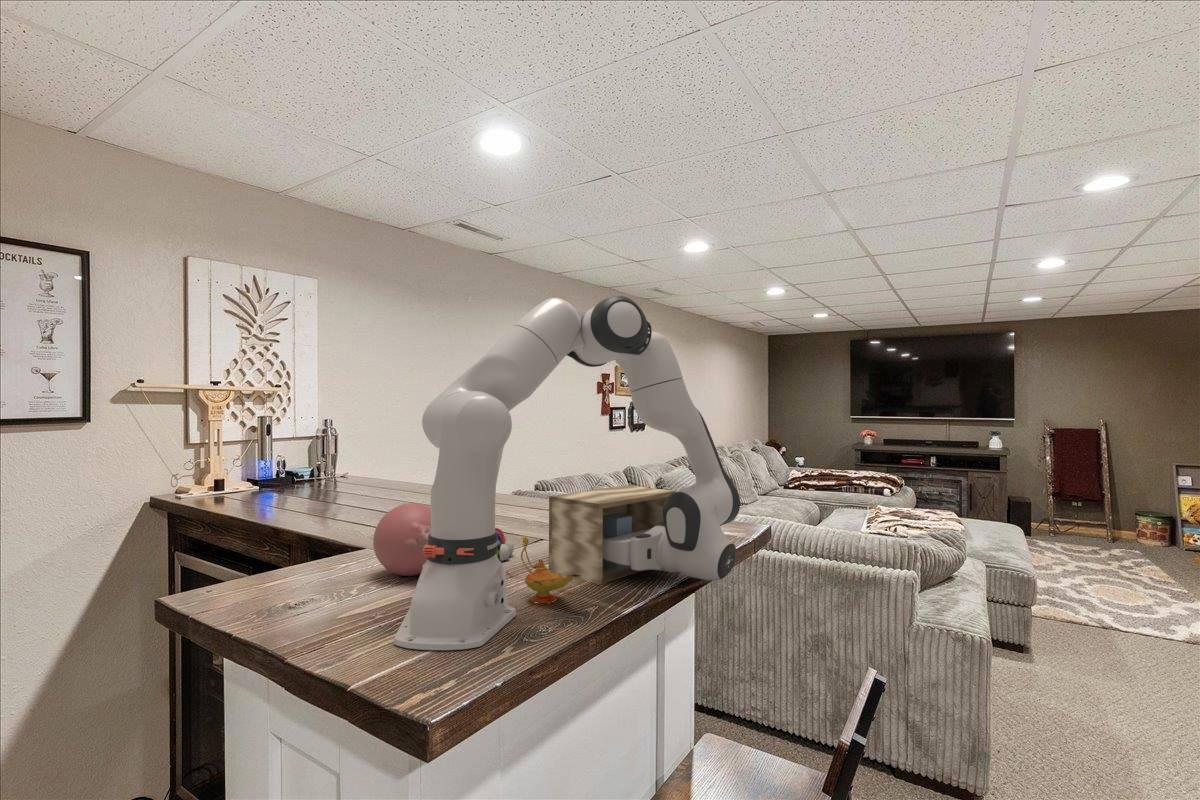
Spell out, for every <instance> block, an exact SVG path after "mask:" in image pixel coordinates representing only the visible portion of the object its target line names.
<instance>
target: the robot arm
mask: <svg viewBox="0 0 1200 800" xmlns="http://www.w3.org/2000/svg"><path fill="white" fill-rule="evenodd" d="M566 356H567V357H569V358H571V359H573V361H575V362H576V363H578V364H580V365H582V366H585V367H588V368H595V367H596V368H597V367H601V366H604V365H606V364H608V363H611V362H612V361H614V362H615V363H616V364H617V365H618V366H619V367H620V368H621V369H622V371H623V374H624V376H625V377H626V381H627V385H628V389H629V393H630V398H631V401H632V405H633V407H634V411H635V412H636V414H637V416H638V419H639V421H641V422H642V423H643V424H645V425H646V426H647V427H649V428H651V429H653V430H657V431H659V432H663V433H666V434H669V435H671V436H673V437H675V438H676V439H677V440H678V441H679V442H680V443H681V444H682V446H683V448H684V450H685V454H686V456H687V458H688V460H689V464H690V465H691V468H692V470H693V471H692V472H693V474H694V476H695V483H694V484H692V485H690V486H686V487H683V488H681V489H679V490H677V491H676V492H675V493H672V494H671V495H669V496H668V497H667V499H666V500H665V503H664V506H663V520H664V526H665V527H664V526H655V527H653V528H650V529H646V530H642V531H638V532H632V533H629V534H625V535H621V536H616V537H610V536H604V537H603V559H605V560H608V561H611V562H614V563H617V564H621V565H628V566H630V565H631V569H632V570H636V571H640V572H642V571H641V570H643V571H650V570H651V571H652V570H653V571H654V570H655V571H664V572H668V573H680V574H683V576H685V577H689V578H693V579H697V580H698V579H699V580H704V581H705V580H706V581H720V580H722V579H724V578H726V577H727V576H728V575H729V574H730V573H731V572H732V571H733V570H732V569H733V567H735V564H736V560H737V546H736V545H735V543H734V542H732V541H731V540H730V539H729V538H728V537H727V535H726V534H725V533H724V531H723V530H722V528H721V526H725V525H726V524H730V523H731V522H733V521H734V520H735V519H736V518H737V516H738V515H739V513H740V510H741V498H740V497H741V496H740V494H739V491H738V489H737V487H736V486H735V484H734V482H733V481H732V479H731V478H730V476H729V475H728V474H727V472H726V470H725V468H724V466H723V463H722V461H721V459H720V455H719V453H718V450H717V448H716V445H715V443H714V440H713V437H712V435H711V433H710V430H709V428H708V425H707V423H706V421H705V419H704V416H703V414H702V413H701V412H700V411H699V409H698V408H697V407H696V406H695V405H694V403H693V400H692V398H691V396H690V394H689V391H688V389H687V386H686V384H685V380H684V376H683V373H682V370H681V368H680V365H679V361H678V359H677V357H676V354H675V353H674V350H673V348H672V346H671V344H670V342H669V340H668V338H667V337H666V336H665V335H663V334H662V333H660V332H657V331H652V325H651V323H650V321H648V319H647V318H646V315H645V313H644V311H643V310H642V309H641V307H640V306H639V305H638V304H637V302H635V301H634V300H633V299H631V298H629V297H627V296H624V295H623V296H622V295H617V296H610V297H607V298H604V299H603V300H601V301H599V302H598V303H597V304H596V305H595V306H592V307H591V308H590V309H588V310H586V311H581V310H578V309H576V308H575V307H574V305H572V304H571V303H569V302H568V301H567V300H565V299H562V298H560V297H550V298H547V299H545V300H543V301H542V302H540V303H539V304H537V305H536V306H535V307H533V308H532V309H531V310H529V311H528V312H527V313H526V314H525V315H523V316H522V317H521V318H520V319H519V320H517V322H516V323H515V324H513V326H512V327H511V328H510V329H509V330H508V331H507V332H506V333H505V334H504V335H503V336H502V337H501V338H500V339H499V340H498V341H497V342H496V343H495V345H494V346H492V347H491V348H490V350H488V352H487V353H485V355H484V356H483V357H481V358H480V359H479V360H478V361H476V362H475V363H474V364H473V365H472V366H471V367H469V368H468V369H467V370H466V371H465V372H463V373H462V374H461V375H460V376H458V378H456V379H455V380H454V381H453V382H452V383H451V384H450V385H448V386H447V387H446V388H445V389H444V390H443V391H442V392H441V393H440V394H438V396H437V397H436V398H435V399H433V400H432V401H431V402H430V403H429V404H428V405H427V407H426V408H425V409H424V411H423V415H422V417H421V418H422V420H421V427H422V429H423V432H424V434H425V436H426V438H427V440H428V441H429V442H430V443H431V444H432V445H433V446H434V447H435V448H437V449H438V460H437V464H436V465H437V466H436V471H435V476H434V481H433V483H432V485H431V489H430V507H431V532H430V534H429V536H428V542H427V545H425V546H424V547H423V548H424V549H423V557H424V558H426V559H427V561H426V563H425V564H424V565H423V568H422V571H421V574H419V577H418V580H417V583H416V584H415V585H416V586H415V587H414V591H413V594H412V597H411V601H410V607H409V609H407V610H408V611H407V612H406V614H405V616H404V618H403V620H402V623H400V626H399V628H398V629H397V632H396V633H395V635H394V637H393V644H394V645H396V646H398V647H401V648H405V649H410V650H411V649H413V650H420V651H421V650H422V651H457V650H459V651H460V650H468V649H474V648H479V647H482V646H483V645H484V644H486V643H487V642H488V641H489V640H491V638H493V637H494V636H495V635H496V634H497V633H499V631H501V629H503V628H504V627H505V626H506V625H507V624H508V623H510V621H512V620H513V618H515V617H516V616H517V609H516V608H515V607H513V606H511V605H508V589H507V588H508V587H507V585H508V583H507V568H506V566H505V565H504V564H503V563H502V561H500V558H499V556H497V555H496V553H497V552H498V538H497V532H496V531H495V528H496V490H497V482H498V476H499V471H500V466H501V462H502V457H503V452H504V447H505V445H506V443H507V441H508V440H509V438H510V436H511V432H512V427H513V423H512V422H513V421H512V416H511V413H510V412H511V411H512V410H513V409H514V408H516V407H518V405H520V404H521V403H523V402H524V401H526V400H527V399H530V397H531V396H532V395H533V393H534V392H535V391H536V390H537V389H538V388H540V386H541V384H542V383H544V381H545V380H546V379H547V378H548V377H549V376H550V374H551V373H552V372H553V371H554V370H555V369H556V368H557V366H558V365H560V363H561V362H562V361H563V360H564V359H565V357H566Z"/></svg>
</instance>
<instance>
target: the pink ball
mask: <svg viewBox="0 0 1200 800" xmlns="http://www.w3.org/2000/svg"><path fill="white" fill-rule="evenodd" d="M430 532H431V506H428V505H426V504H422V503H417V502H408V503H404V504H401V505H397V506H395V507H393V508H392V509H391V510H390V509H389V511H388V512H387V513H385V514H384V515H383V516H382V517H381V518H380V520H379V522H378V523H377V525H376V527H375V530H374V533H373V539H372V542H373V544H372V545H373V551H374V554H375V556H376V558H377V560H378V562H379V563H380V564H381V565H382V566H383V568H385V569H386V570H387V571H389V572H391V573H393V574H395V575H399V576H403V577H412V576H418V575H419V576H420V574H421V571H422V568H423V565H424V564H425V563H426V561H427V559H426V558H424V557H423V549H424V548H423V547H424V546H425V545H427V542H428V536H429V534H430Z"/></svg>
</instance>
